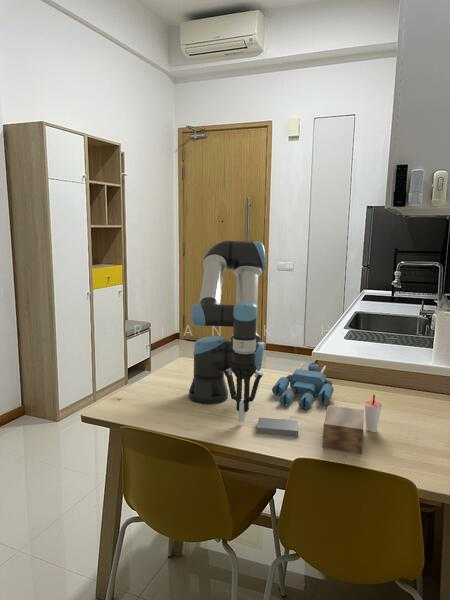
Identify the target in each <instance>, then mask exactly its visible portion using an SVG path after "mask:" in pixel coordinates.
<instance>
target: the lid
mask: <svg viewBox="0 0 450 600" xmlns="http://www.w3.org/2000/svg"><path fill="white" fill-rule="evenodd" d="M257 419H258V421H257V425H256V434H259V435H271V436H272V435H273V436H279V437H280V436H281V437H282V436H283V437H292V438H293V437H295V438H299V420H295V419H294V420H293V419H285V418H284V419H282V418H271V417H270V418H269V417H258V418H257Z"/></svg>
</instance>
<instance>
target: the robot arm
mask: <svg viewBox="0 0 450 600" xmlns="http://www.w3.org/2000/svg"><path fill="white" fill-rule="evenodd" d="M202 262H203V263H202V266H203V269H204V271H203V276H202V284H201V290H200V295H199V302H198V303H194V304H192V306H191V310H190V311H191V313H190V314H191V317H190V318H191V324H192V325H193V326H199V327H200V326H201V327H225V328H226V327H230V328H232V330H233V331H232V335H230V340H226V338H225V337H224V336H222V335H209V336H204V337H201V338H198V339H197V340H196V341H195V342H194V345H193V346H194V347H193V379H192V381H191V384H190V387H189V389H188V398H189V400H190V401H192V402H194V403H199V404H202V405H203V404H206V405H211V404H220V403H222V402H223V403H224V402H225V401H227V400H228V399H229V395H230V399H231V400H235V402H236V405H235V406H236V409H235V410H236V411H237V412H238V422H240V423H244V422H245V421H246V413H248V411H249V409H250V407H249V406H250V403H253V402H254V400H255V398H256V394H257V392H258V391H257V390H258V387H259V384H260V380H261V378H263V376H264V373H263V372H260V371H261V370H262V363H263V356H264V351H265V344H266V343H265V342H264V341H262V337H261V336H260V335H259V334H258V311H259V310H258V306H259V305H258V304H259V303H258V302H259V301H258V300H259V299H258V298H259V296H258V295H259V277H260V276H261V275H262V274H263V271H264V270H266V266H267V265H266V263H267V262H266V252H265V246H264V243H263V242H261V241H254V240H249V241H248V240H223V241H220V242H217V243H215V244H214V245H213V246H211V248H209V250H208V251H207V252H206V254H205V255H204V257H203V261H202ZM226 270H233V272H232V273H233V275H235V277H236V291H235V293H236V294H235V295H236V297H235V304H222V303H221V302H222V295H223V294H222V291H223V285H224V284H223V283H224V273H225V271H226ZM233 375H234V376H235V378H236V380H235V381H236V386H235V382H234V378H233V377H234V376H233ZM253 376H254V378H255V379H254V382H253V386H252V389H251V391H250V387H251V386H250V384H251V378H252V377H253ZM225 378H226V380H227V384H228V387H227V384H226V380H225ZM243 383H244V385H243ZM243 388H244V389H243ZM250 392H251V393H250ZM229 393H230V394H229ZM242 396H243V397H242Z"/></svg>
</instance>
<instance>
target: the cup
mask: <svg viewBox="0 0 450 600" xmlns="http://www.w3.org/2000/svg"><path fill="white" fill-rule="evenodd" d="M375 400H376V395H375V394H373V395H372V400H366V401H364V409H365V410H364V419H365V430H366V431H367V432H370V433H376V432H377V431H378V426H379V422H380V416H381V409H382V406H383V404H382V403H381V402H379V401H375ZM375 431H376V432H375Z"/></svg>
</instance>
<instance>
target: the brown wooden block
mask: <svg viewBox="0 0 450 600" xmlns="http://www.w3.org/2000/svg"><path fill="white" fill-rule="evenodd" d="M326 409H327V410H326V414H325V417H324V421H323V430H322V431H323V432H322V449H329V450H335V451H341V452H346V453H347V452H348V453H354V454H360V455H362V454H363V453H362V452H363V440H364V439H363V438H364V422H365V420H364V419H365V410H364V409H358V408H351V407H345V406H344V407H343V406H336V405H328V406H327V408H326Z"/></svg>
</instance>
